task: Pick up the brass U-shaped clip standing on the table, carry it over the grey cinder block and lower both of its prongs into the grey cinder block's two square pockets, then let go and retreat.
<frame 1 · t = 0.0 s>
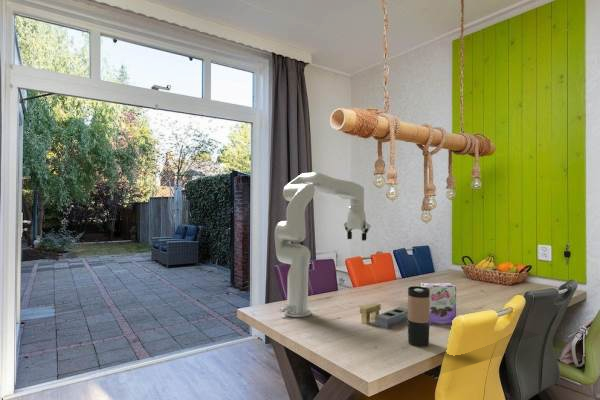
hand: (356, 239, 200), 31 cm above the table, tool pointing down, fingers open, 9 cm apart
travel mug: (418, 344, 133), on the table
clip: (370, 320, 158), on the table
candy box: (437, 322, 157), on the table
grey cinder block: (393, 322, 157), on the table
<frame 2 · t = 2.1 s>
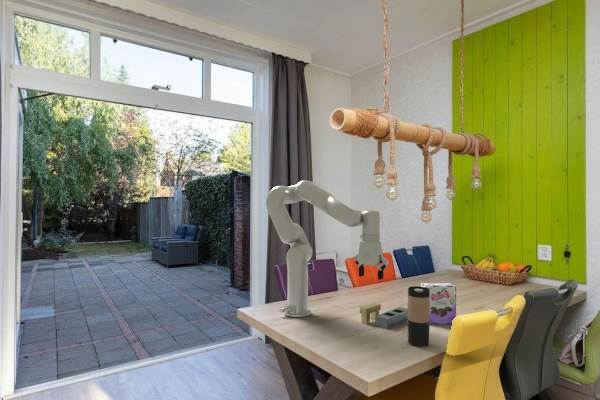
hand: (370, 277, 159), 19 cm above the table, tool pointing down, fingers open, 9 cm apart
nothing on the table moved.
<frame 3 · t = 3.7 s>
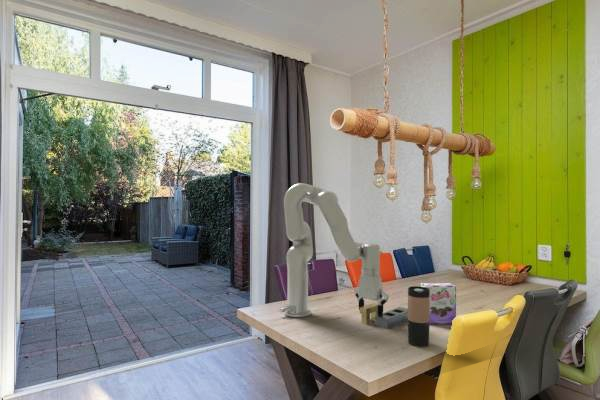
hand: (370, 311, 158), 4 cm above the table, tool pointing down, fingers open, 9 cm apart
nothing on the table moved.
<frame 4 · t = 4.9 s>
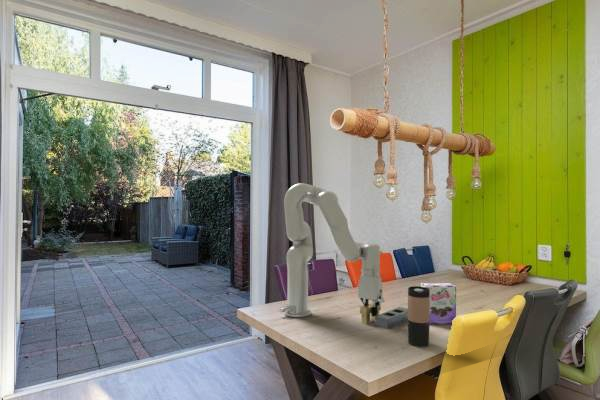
hand: (370, 314, 158), 3 cm above the table, tool pointing down, fingers closed on clip, 3 cm apart
clip: (370, 320, 158), on the table, touching gripper
everything else where it was.
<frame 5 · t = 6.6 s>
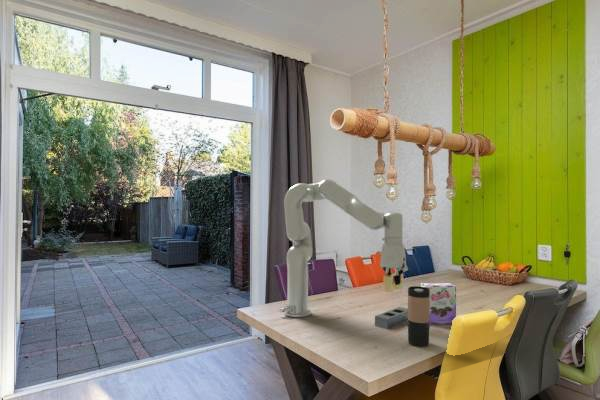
hand: (393, 283, 157), 17 cm above the table, tool pointing down, fingers closed on clip, 3 cm apart
clip: (393, 289, 157), point 14 cm above the table, touching gripper
everything else where it was.
when the fingers open (5 cm above the table, at t = 8.7 s): clip stays where it is, resting on grey cinder block.
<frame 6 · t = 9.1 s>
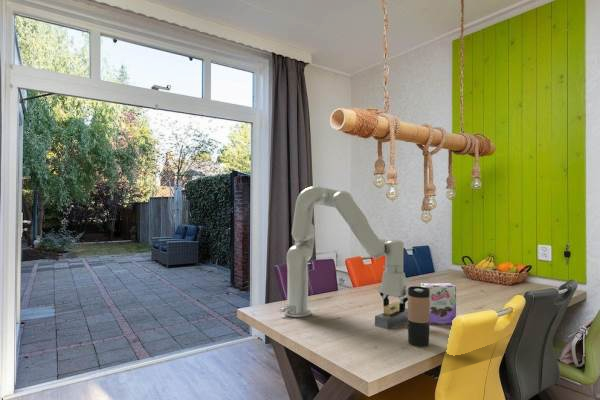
hand: (394, 309, 157), 5 cm above the table, tool pointing down, fingers open, 7 cm apart
clip: (393, 319, 157), point 1 cm above the table, touching grey cinder block
everything else where it was.
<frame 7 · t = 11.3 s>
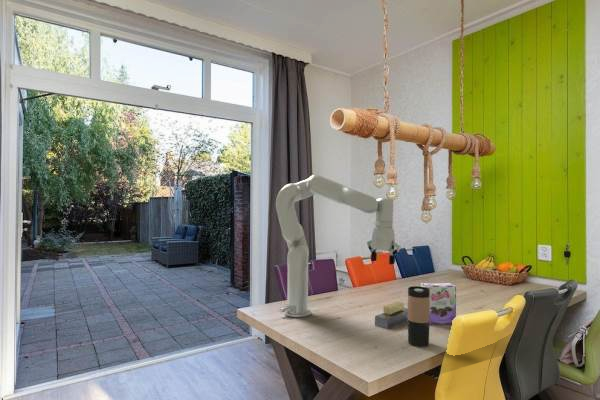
hand: (382, 262, 166), 24 cm above the table, tool pointing down, fingers open, 9 cm apart
nothing on the table moved.
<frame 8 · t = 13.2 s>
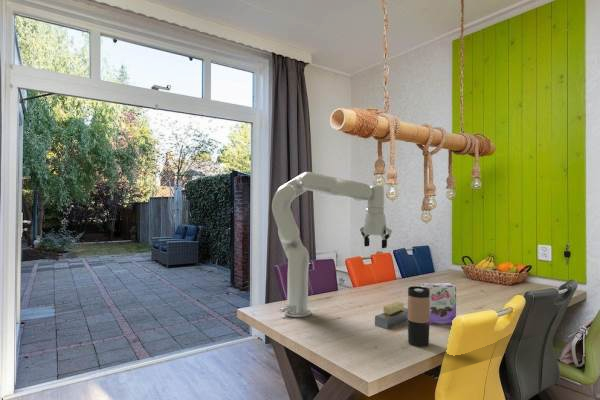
hand: (375, 247, 173), 30 cm above the table, tool pointing down, fingers open, 9 cm apart
nothing on the table moved.
at the end: clip 0.1 cm off-centre on the grey cinder block, point 1.0 cm above the grey cinder block's base; clip tilted 0°; the gripper is holding nothing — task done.
